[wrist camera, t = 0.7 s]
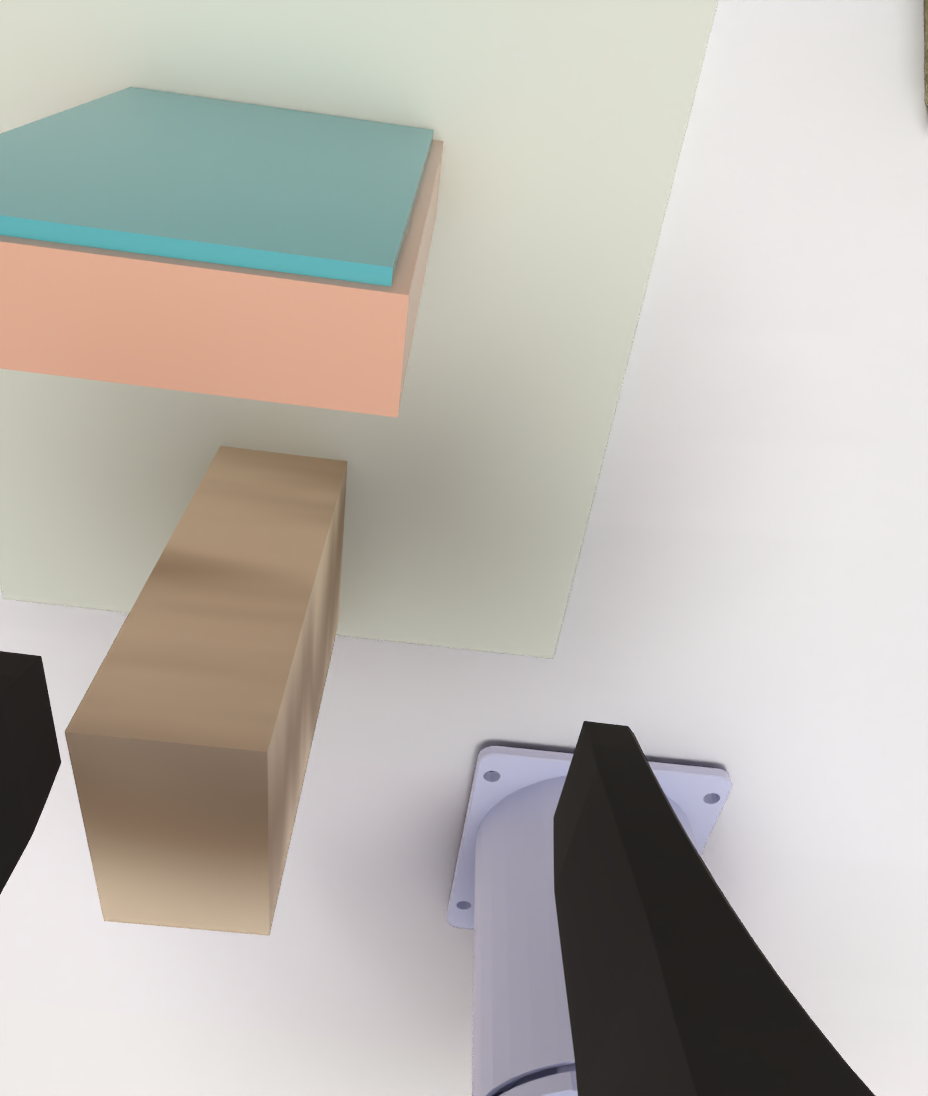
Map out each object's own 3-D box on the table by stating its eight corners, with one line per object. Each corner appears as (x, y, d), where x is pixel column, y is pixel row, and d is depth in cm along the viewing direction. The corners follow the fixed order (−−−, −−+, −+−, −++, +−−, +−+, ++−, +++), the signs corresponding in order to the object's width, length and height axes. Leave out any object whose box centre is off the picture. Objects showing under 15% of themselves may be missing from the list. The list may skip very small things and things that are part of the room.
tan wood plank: (338, 621, 23) (269, 935, 16) (227, 609, 23) (104, 921, 15) (347, 460, 20) (267, 752, 13) (220, 445, 20) (64, 731, 13)
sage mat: (552, 646, 24) (553, 658, 24) (11, 587, 23) (3, 599, 23) (850, -564, 11) (864, -583, 11) (-301, -787, 11) (-332, -816, 10)
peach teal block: (435, 217, 17) (397, 417, 10) (131, 175, 17) (-153, 350, 9) (444, 129, 16) (410, 275, 9) (123, 84, 16) (-201, 194, 8)
